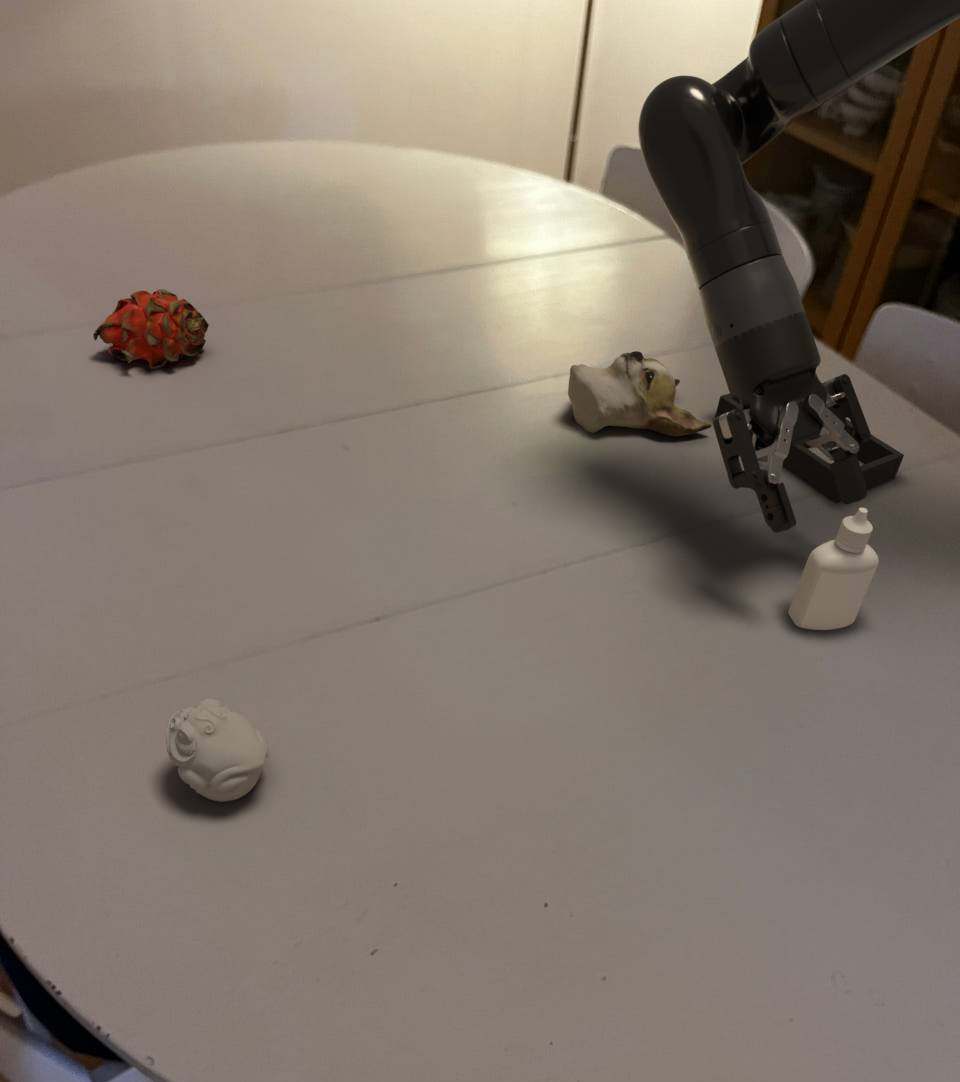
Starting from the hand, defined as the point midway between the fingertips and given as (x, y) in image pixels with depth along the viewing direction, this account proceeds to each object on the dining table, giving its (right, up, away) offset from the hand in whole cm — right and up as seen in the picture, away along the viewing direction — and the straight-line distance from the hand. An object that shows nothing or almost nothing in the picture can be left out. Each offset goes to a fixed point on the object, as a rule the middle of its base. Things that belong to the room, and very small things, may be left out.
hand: (821, 515), depth 87 cm
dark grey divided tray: (+6, +9, +24) cm, 27 cm away
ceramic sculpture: (-12, +13, +26) cm, 32 cm away
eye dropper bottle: (+1, -9, +4) cm, 10 cm away
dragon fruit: (-64, +20, +28) cm, 72 cm away
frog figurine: (-46, -21, -14) cm, 52 cm away
